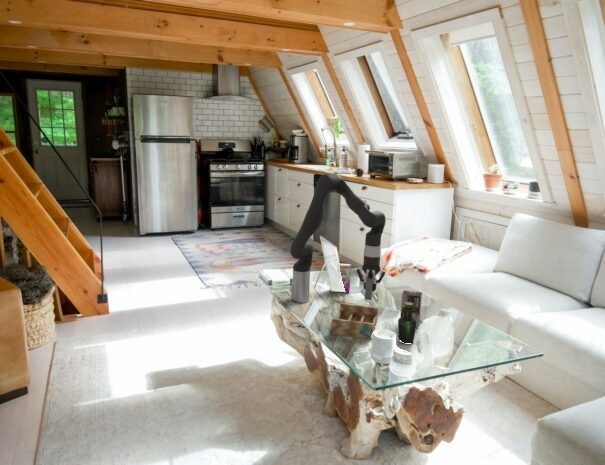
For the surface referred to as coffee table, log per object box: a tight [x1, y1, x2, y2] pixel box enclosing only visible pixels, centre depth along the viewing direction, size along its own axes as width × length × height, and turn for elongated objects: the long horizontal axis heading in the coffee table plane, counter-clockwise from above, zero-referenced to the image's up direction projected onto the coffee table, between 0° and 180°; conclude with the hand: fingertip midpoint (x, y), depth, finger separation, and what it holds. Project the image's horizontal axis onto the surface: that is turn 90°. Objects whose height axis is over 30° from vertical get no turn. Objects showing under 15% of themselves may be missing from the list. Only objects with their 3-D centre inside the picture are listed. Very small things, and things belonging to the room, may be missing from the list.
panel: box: [364, 276, 375, 301], centre depth 224 cm, size 3×12×10 cm, turn 166°
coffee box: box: [400, 290, 423, 329], centre depth 234 cm, size 9×6×16 cm
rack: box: [331, 302, 379, 340], centre depth 229 cm, size 19×23×7 cm
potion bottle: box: [397, 302, 417, 344], centre depth 214 cm, size 8×8×18 cm
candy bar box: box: [338, 262, 352, 294], centre depth 278 cm, size 11×5×16 cm, turn 84°
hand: (369, 290), depth 224 cm, fingers closed on panel, 3 cm apart
